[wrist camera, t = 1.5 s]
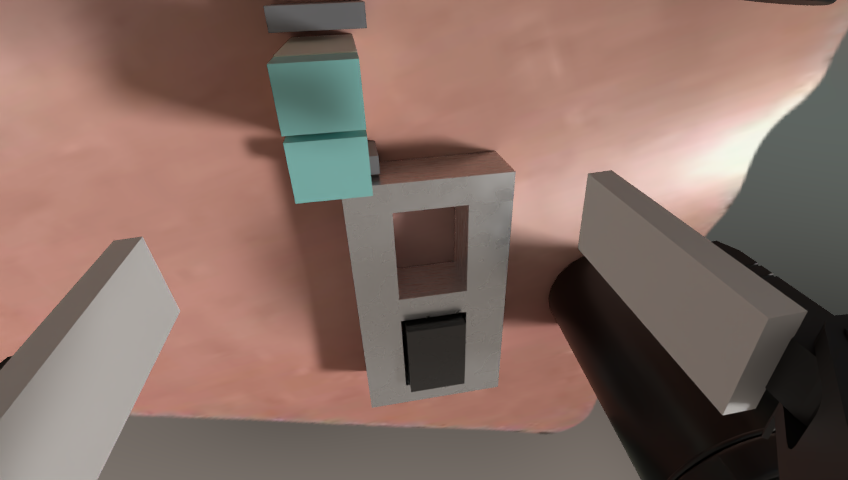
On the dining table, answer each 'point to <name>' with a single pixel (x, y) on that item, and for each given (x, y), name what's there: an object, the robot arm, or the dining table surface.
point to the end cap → (798, 2)
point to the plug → (322, 117)
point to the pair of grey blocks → (321, 19)
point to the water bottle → (656, 391)
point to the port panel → (432, 277)
